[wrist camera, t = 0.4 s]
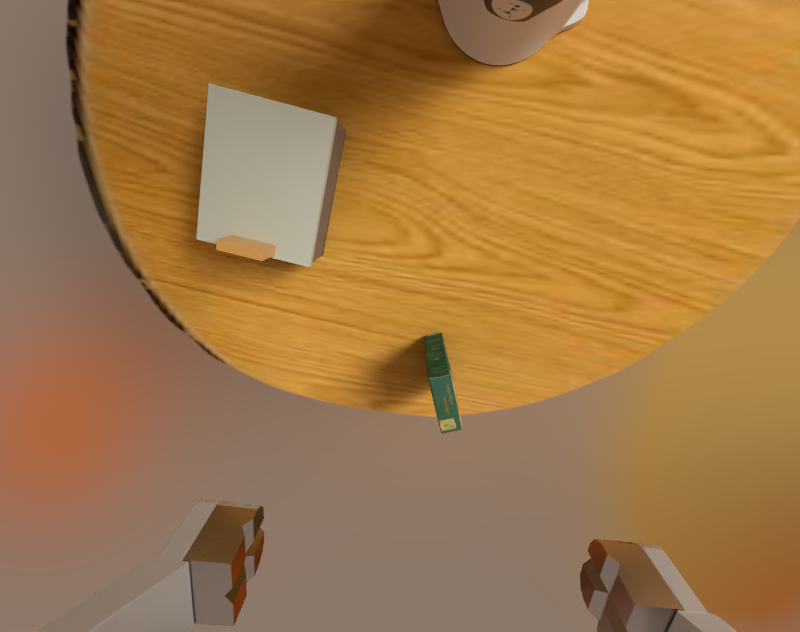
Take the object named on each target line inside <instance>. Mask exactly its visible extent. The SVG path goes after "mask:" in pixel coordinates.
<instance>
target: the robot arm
mask: <svg viewBox="0 0 800 632" xmlns="http://www.w3.org/2000/svg"><path fill="white" fill-rule="evenodd" d="M588 2H589V0H438V3H439V6H440V9H441V13H442V17H443V20H444V23H445V26H446V28H447V30H448V32H449V34H450V36H451V38H452V39H453V41H454V42H455V43H456V44H457V46H458V47H459V48H460V49H461V50H462V51H463V52H464V53H466V54H467V55H468V56H470V57H471V58H473V59H475V60H477V61H479V62H482V63H486V64H490V65H508V64H513V63H516V62H519V61H522V60H524V59H526V58H528V57H529V56H531V55H533V54H534V53H535V52H537V51H538V50H539V49H540V48H542V47H543V46H544V45H545V44H546V43H547V42H548V41H549V40H550V39H551V38H552V37H553V36H554V35H556V34H557V33H559V32H562V31H564V30H567V29H569V28H571V27H573V26H575V25H577V24H578V23H579V22H580V21H581V20H582V19H583V17H584V16H585V14H586V12H587V8H588ZM263 519H264V509H263V507H262V506H259V505H252V504H243V503H236V502H228V501H218V500H210V499H202V498H201V499H200V500H199V501H197V502H196V503H195V504H194V505H193V507H192V508H191V510H190V511H189V513H188V514H187V516H186V517H185V518H184V520H183V521H182V523H181V524H180V526H179V527H178V528H177V530H176V531H175V533H174V534H173V536H172V537H171V538H170V540H169V541H168V543H167V544H166V546H165V547H164V548H163V550H162V551H161V553H160V554H159V556H158V557H157V558H149V559H147V560H146V561H144V562H143V563H141V564H139V565H138V566H136V567H135V568H133V569H131V570H130V571H128V572H127V573H125V574H124V575H122V576H121V577H119V578H117V579H116V580H114V581H113V582H111V583H110V584H108V585H107V586H105V587H103V588H102V589H100V590H99V591H97V592H95V593H94V594H92V595H91V596H89V597H88V598H86V599H84V600H83V601H81V602H80V603H78V604H77V605H75V606H73V607H72V608H70V609H69V610H67V611H66V612H64V613H62V614H61V615H59V616H58V617H56V618H55V619H53V620H52V621H50V622H48V623H47V624H45V625H44V626H42V627H40V628H39V629H37V630H36V631H34V632H189V631H190V630H191V629H192V628H193V627H194V624H208V625H223V626H234V625H235V622H236V620H237V617H238V615H239V612H240V610H241V608H242V605H243V603H244V600H245V598H246V595H247V590H246V583H247V582H248V581H249V580H250V579H252V578H253V577H254V576H255V573H256V571H257V568H258V565H259V563H260V559H261V555H262V551H263V544H264V531H263V530H262V529H261V528H260V526H261V523H262V521H263ZM588 552H589V555H590V557H591V559H589V560H588V561H587V562H585V563H584V564H583V566H582V569H581V573H580V586H581V587H580V588H581V592H582V596H583V599H584V602H585V604H586V606H587V609H588V610H589V611H590V612H591V613H592V614H593V615H594V616H595V617H596V618H597V619H598V620H599V622H598V626H597V632H737V631H736V630H735V629H733V628H732V627H731V626H729V625H728V624H727V623H726V622H724V621H723V620H722V619H720V618H719V617H718V616H716V615H715V614H709V613H707V611H706V610H705V608H704V607H703V606H702V604H701V603H700V601H699V600H698V599H697V597H696V596H695V594H694V593H693V592H692V590H691V589H690V587H689V586H688V584H687V583H686V582H685V580H684V579H683V577H682V576H681V575H680V573H679V572H678V571H677V569H676V568H675V566H674V565H673V563H672V562H671V561H670V559H669V558H668V556H667V555H666V554H665V552H664V551H663V550H662V549H661V548H660V547H659V546H657V545H653V544H642V543H632V542H621V541H610V540H599V539H594V540H593V541H592V542H591V543H590V545H589V548H588Z"/></svg>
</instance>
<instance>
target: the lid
mask: <svg viewBox="0 0 800 632" xmlns="http://www.w3.org/2000/svg"><path fill="white" fill-rule="evenodd" d="M337 120H338V119H337V118H336V117H334V116H330V115H326V114H322V113H319V112H315V111H311V110H308V109H304V108H300V107H296V106H293V105H289V104H285V103H282V102H278V101H274V100H270V99H267V98H263V97H259V96H255V95H252V94H248V93H244V92H241V91H237V90H233V89H229V88H226V87H222V86H218V85H215V84H211V83H209V85H208V98H207V111H206V123H205V136H204V149H203V161H202V174H201V187H200V199H199V212H198V224H197V237H196V239H197V240H201V241H205V242H209V243H213V244H216V250H219V251H223V252H227V253H231V254H235V255H239V256H243V257H247V258H251V259H255V260H259V261H264V260H266V259H268V258H274V259H278V260H282V261H286V262H290V263H294V264H298V265H302V266H306V267H311V266H312V261H313V255H314V250H315V244H316V239H317V233H318V227H319V222H320V216H321V210H322V205H323V199H324V193H325V188H326V182H327V176H328V171H329V165H330V159H331V154H332V148H333V142H334V137H335V131H336V125H337Z"/></svg>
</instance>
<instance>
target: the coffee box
mask: <svg viewBox="0 0 800 632" xmlns="http://www.w3.org/2000/svg"><path fill="white" fill-rule="evenodd" d="M424 339H425V349H426V358H427V370H428V380H429V384H430V389H431V393H432V397H433V401H434V405H435V410H436V414H437V418H438V422H439V426H440V430H441V433H447V432H452V431H457V430H461V429H462V423H461V418H460V412H459V407H458V401H457V395H456V391H455V386H454V382H453V377H452V373H451V369H450V365H449V361H448V357H447V353H446V348H445V344H444V340H443V336H442V333H436V334H431V335H427V336H425V337H424Z"/></svg>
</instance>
